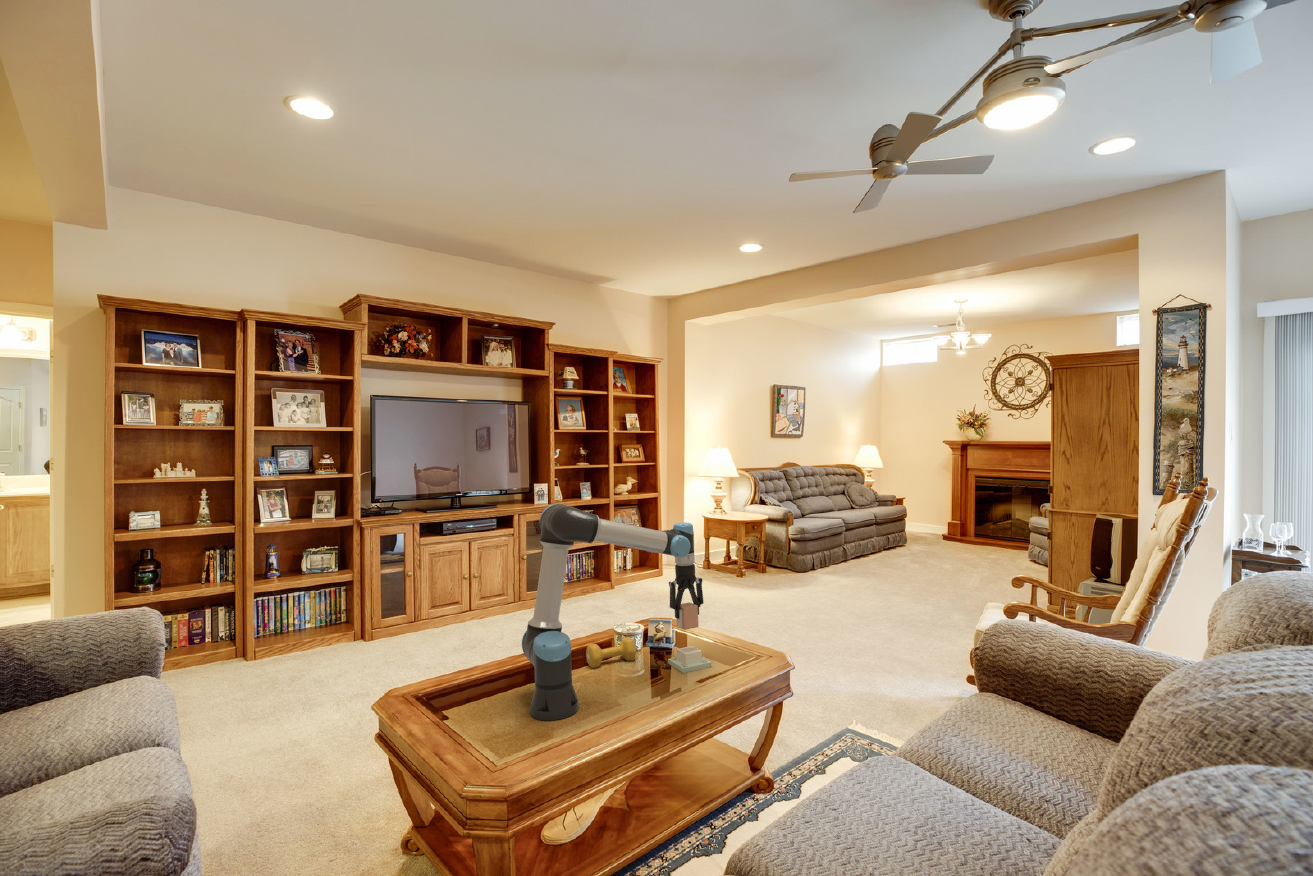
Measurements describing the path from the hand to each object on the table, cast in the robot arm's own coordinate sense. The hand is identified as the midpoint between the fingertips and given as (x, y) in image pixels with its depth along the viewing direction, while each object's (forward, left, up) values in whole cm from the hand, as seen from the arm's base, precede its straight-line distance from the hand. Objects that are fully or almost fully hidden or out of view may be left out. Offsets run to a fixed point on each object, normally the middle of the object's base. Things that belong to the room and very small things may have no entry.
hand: (687, 625), depth 228 cm
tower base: (0, 0, -15) cm, 15 cm away
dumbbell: (-24, +19, -15) cm, 34 cm away
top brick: (0, 0, 0) cm, 0 cm away
